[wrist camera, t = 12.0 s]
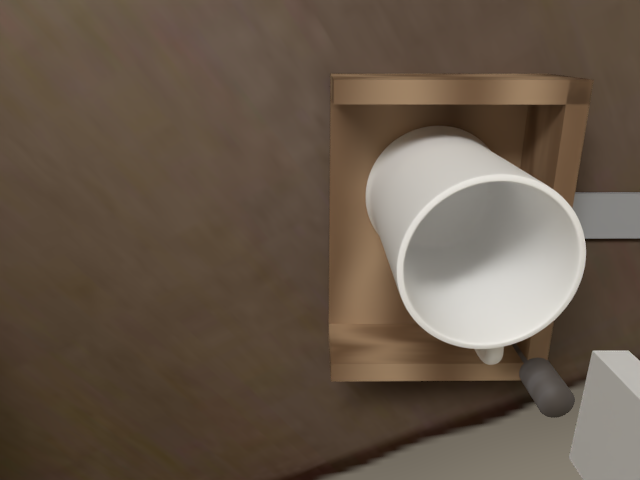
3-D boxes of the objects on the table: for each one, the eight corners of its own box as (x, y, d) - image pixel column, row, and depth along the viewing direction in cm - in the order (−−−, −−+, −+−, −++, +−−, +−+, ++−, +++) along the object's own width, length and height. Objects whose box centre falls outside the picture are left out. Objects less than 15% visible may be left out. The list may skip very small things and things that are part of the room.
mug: (506, 291, 37) (591, 400, 26) (379, 309, 37) (409, 426, 26) (497, 114, 33) (594, 152, 22) (356, 137, 33) (379, 186, 22)
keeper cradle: (328, 340, 39) (332, 418, 31) (330, 73, 32) (336, 84, 24) (517, 339, 39) (571, 417, 31) (555, 73, 33) (634, 84, 25)
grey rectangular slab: (556, 236, 36) (558, 238, 36) (563, 192, 35) (565, 194, 35) (661, 236, 36) (664, 238, 36) (671, 192, 35) (674, 193, 35)
